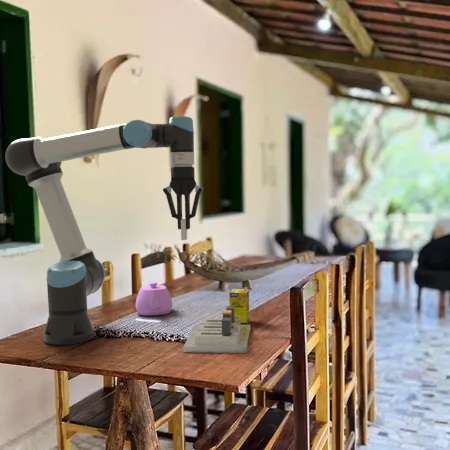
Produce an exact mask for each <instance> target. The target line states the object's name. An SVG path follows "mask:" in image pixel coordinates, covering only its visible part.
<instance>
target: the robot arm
mask: <svg viewBox="0 0 450 450" xmlns="http://www.w3.org/2000/svg"><path fill="white" fill-rule="evenodd" d="M193 121H194V120H193V118H192V117H190V116H184V115H183V116H181V115H179V116H178V115H177V116H172V117H170V118H169V121H168V123H152V122H151V123H150V122H146V121H145V120H141V119H133V120H129V121H128V122H127V123H122V124H115V125H110V126H105V127H100V128H94V129H89V130H85V131H79V132H75V133H70V134H63V135H59V136H53V137H48V138H43V137H41V136H35V137H29V138H28V137H27V138H19V139H16V140H14V141H12V142H11V143H10V144H9V145H8V147H7V148H6V150H5V153H4V154H5V155H4V156H5V157H4V158H5V162H6V164H7V166H8V168H9V169H10V170H11V171H12V172H13V173H14V174H17V175H20V176H23V177H25V179H26V180H25V181H26V182H27V185H28V186H29V187H31V188H33V189H35V192H36V195H37V197H38V200H39V202H40V205H41V208H42V210H43V213H44V216H45V218H46V221H47V223H48V225H49V228H50V231H51V233H52V236H53V238H54V242H55V244H56V247H57V249H58V252H59V254H60V259H59V261H58V262H55V263H54V264H51V265H50V266H49V267H48V268H47V271H46V285H47V286H46V289H47V300H48V301H47V302H48V305H47V306H48V317H47V321H46V324H45V328H44V332H43V341H44V343H46V344H49V345H57V346H68V345H76V344H82V343H85V342H88V341H90V340H92V339H93V338H94V337H95V328H94V325H93V323H92V321H91V318H90V316H89V312H88V296H90V295H91V294H95V293H97V291H98V290H99V289H100V288H101V287H103V284H104V283H105V281H106V269H105V266H104V265H103V263H102V262H101V261H100V260H98V259H96V256H95V254H94V252H93V251H94V250H92V249H90V248H88V247H87V246H86V243H85V241H84V238H83V235H82V233H81V231H80V228H79V225H78V222H77V220H76V218H75V215H74V212H73V209H72V208H71V204H70V202H69V201H70V200H69V199H68V196H67V193H66V191H65V189H64V185H63V183H62V180H61V179H62V178H63V175H64V173H63V170H62V167H61V166H62V163H63V162H65V161H70V160H75V159H76V160H77V159H83V158H87V157H91V156H92V157H93V156H99V155H101V154H102V155H103V154H107V153H114V152H118V151H123V150H129V149H134V148H136V149H157V148H158V149H159V148H169V154H170V165H171V168H170V182H169V185H168V186H166V187H163V188H162V191H163V193H164V195H166V200H167V204H168V206H169V211H170V215H171V217H172V218H174V219H176V220H177V228H178V229H177V230H180V235H181V236H180V240H181V241H187V239H188V230H190V229H191V219H192V218H195V217H196V215H197V211H198V206H199V201H200V198H201V194H202V193H203V190H204V188H203V187H202V186H201V187H200V186H199V185H197V182H196V180H195V177H196V176H195V167H194V166H193V165H195V142H194V141H195V135H194V134H195V130H194V122H193ZM172 191H173V192H174V194H175V195H176V196H175V197H176V207H175V203H174V199H173V196H172ZM193 191H194V192H195V195H194V200H193V204H192V208H191V207H190V206H191V202H190V200H191V199H190V197H191V193H193ZM183 196H184V214H185V215H184V217H185V218H183V200H182V199H183Z"/></svg>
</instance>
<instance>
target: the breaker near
mask: <svg viewBox="0 0 450 450" xmlns="http://www.w3.org/2000/svg"><path fill="white" fill-rule="evenodd" d="M221 319H222V334H230V333H231V318H223V317H222V318H221Z"/></svg>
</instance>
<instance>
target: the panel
mask: <svg viewBox="0 0 450 450" xmlns="http://www.w3.org/2000/svg"><path fill="white" fill-rule="evenodd" d="M250 333H251V324H247V325H241V319H234V321H232V325H231V333H230V334H222V318H203V319H202V321H201V322H200V323H195V324H194V325H193V328H192V329H191V331H190V333H189V335H188V337H187V339H186V340H185V343H184V344H183V348H182V349H183V350H182V352H183V353H211V354H212V353H214V354H215V353H222V354H230V353H231V354H247V351H248V345H249V339H250Z"/></svg>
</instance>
